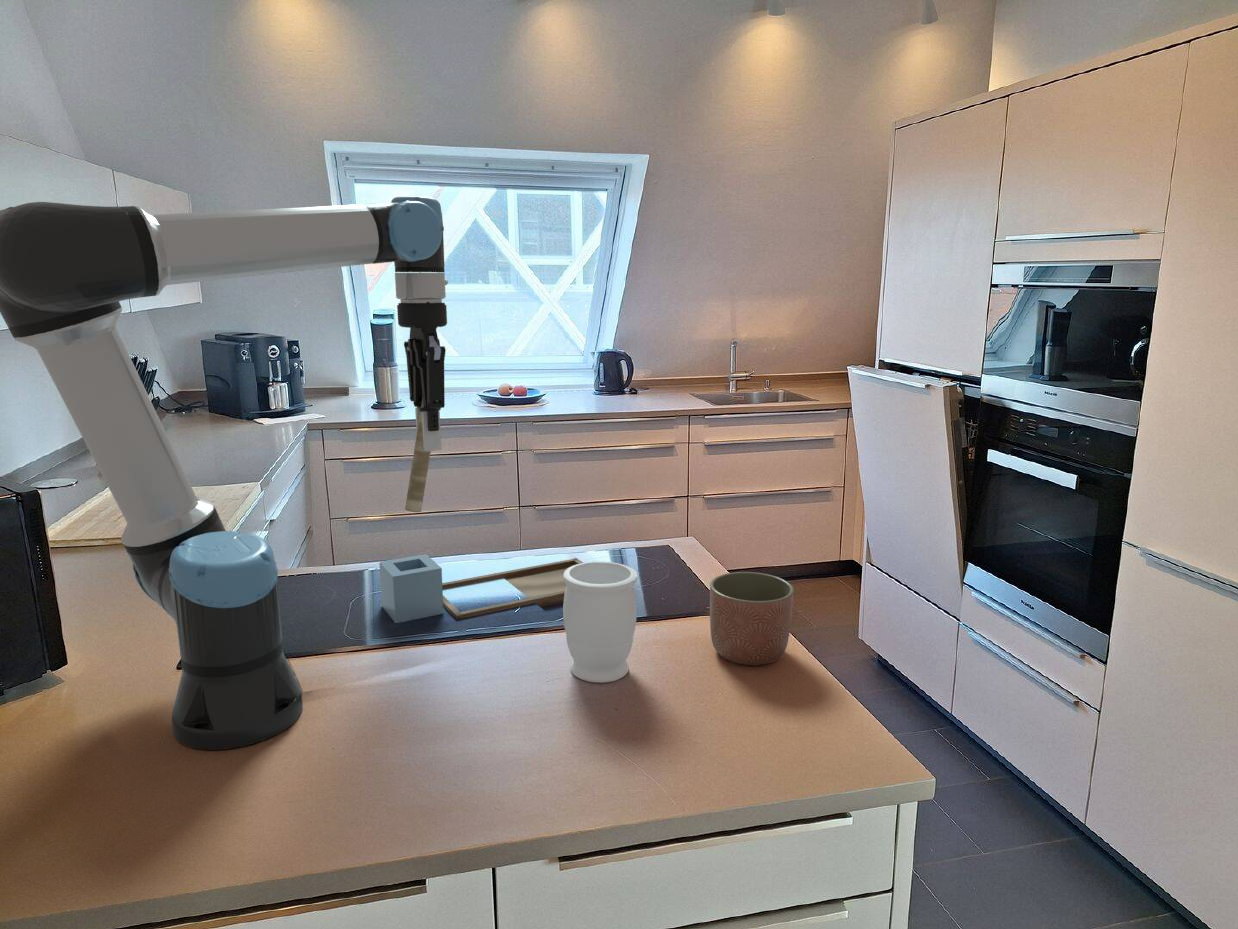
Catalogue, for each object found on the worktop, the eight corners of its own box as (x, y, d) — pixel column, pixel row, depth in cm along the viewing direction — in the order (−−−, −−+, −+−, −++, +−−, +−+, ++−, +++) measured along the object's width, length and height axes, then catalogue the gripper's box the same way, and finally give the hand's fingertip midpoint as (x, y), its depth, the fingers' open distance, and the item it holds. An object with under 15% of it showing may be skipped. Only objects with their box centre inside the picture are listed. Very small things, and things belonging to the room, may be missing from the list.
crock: (443, 619, 136) (441, 568, 134) (395, 629, 132) (392, 576, 130) (428, 603, 143) (426, 554, 141) (382, 612, 139) (379, 561, 137)
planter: (742, 680, 117) (745, 608, 114) (691, 646, 127) (693, 580, 124) (807, 660, 123) (811, 592, 120) (753, 630, 133) (757, 566, 131)
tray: (615, 591, 149) (615, 582, 148) (456, 625, 134) (456, 615, 133) (576, 566, 161) (576, 558, 161) (427, 595, 146) (427, 586, 146)
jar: (650, 670, 119) (652, 572, 116) (600, 695, 112) (601, 592, 108) (598, 647, 126) (598, 555, 123) (548, 670, 119) (547, 572, 115)
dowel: (449, 508, 136) (442, 387, 131) (408, 515, 132) (398, 391, 127) (444, 504, 138) (436, 385, 133) (403, 511, 134) (393, 389, 130)
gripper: (462, 302, 123) (468, 454, 129) (428, 299, 136) (435, 437, 142) (413, 303, 119) (421, 460, 125) (383, 299, 132) (392, 442, 138)
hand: (429, 448), depth 133 cm, fingers closed on dowel, 2 cm apart
